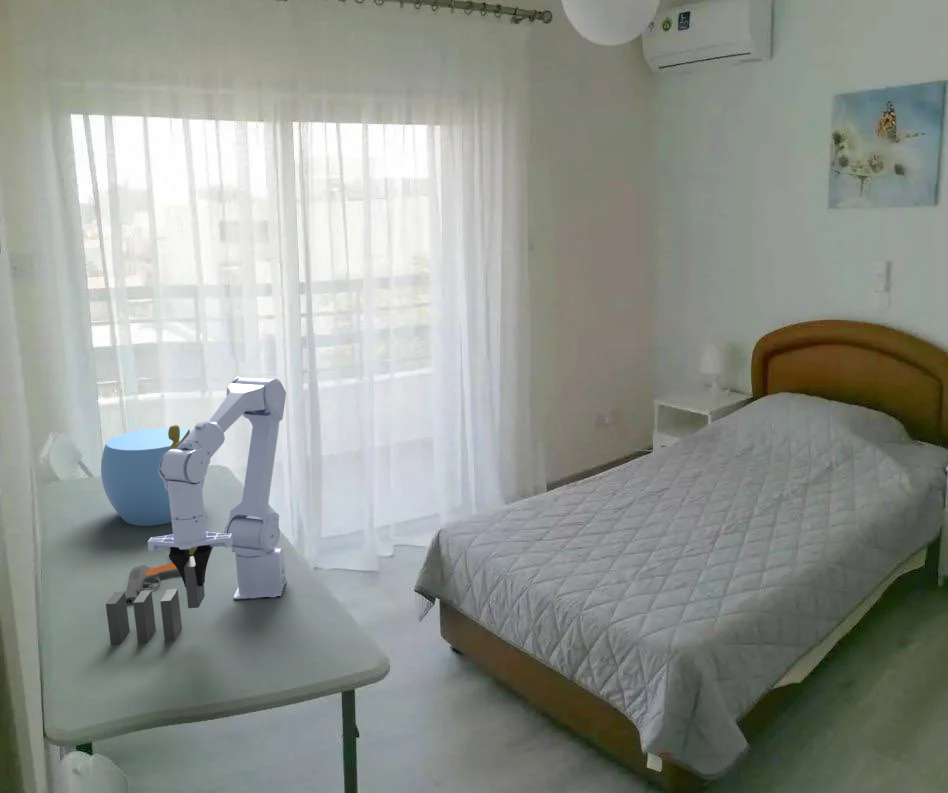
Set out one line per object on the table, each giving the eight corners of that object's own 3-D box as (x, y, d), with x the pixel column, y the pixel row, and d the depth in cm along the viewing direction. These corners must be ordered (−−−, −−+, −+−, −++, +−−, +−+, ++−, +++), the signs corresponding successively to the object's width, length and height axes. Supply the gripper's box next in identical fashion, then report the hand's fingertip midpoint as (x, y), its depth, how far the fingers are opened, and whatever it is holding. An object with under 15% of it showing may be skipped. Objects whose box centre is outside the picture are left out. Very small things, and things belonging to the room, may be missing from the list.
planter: (181, 491, 234) (174, 421, 230) (227, 512, 217) (220, 436, 213) (91, 515, 217) (81, 440, 213) (132, 539, 200) (123, 458, 195)
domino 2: (182, 628, 157) (177, 588, 155) (174, 641, 152) (170, 600, 150) (172, 628, 157) (167, 589, 155) (164, 641, 152) (160, 601, 150)
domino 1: (155, 629, 156) (151, 590, 155) (147, 642, 152) (143, 602, 150) (146, 630, 156) (141, 590, 155) (137, 643, 152) (133, 602, 150)
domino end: (129, 630, 156) (125, 591, 154) (120, 643, 151) (116, 603, 150) (119, 631, 156) (115, 592, 154) (110, 644, 151) (105, 603, 150)
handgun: (187, 597, 170) (124, 606, 167) (189, 566, 185) (131, 574, 182) (186, 589, 170) (123, 598, 167) (188, 559, 185) (130, 566, 181)
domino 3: (204, 596, 156) (200, 555, 154) (198, 607, 151) (194, 566, 149) (194, 596, 155) (190, 556, 154) (188, 608, 151) (184, 567, 149)
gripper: (139, 524, 145) (147, 596, 148) (223, 520, 146) (230, 592, 149) (151, 510, 152) (159, 579, 155) (232, 506, 153) (238, 575, 156)
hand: (194, 584), depth 153 cm, fingers closed on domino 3, 2 cm apart
